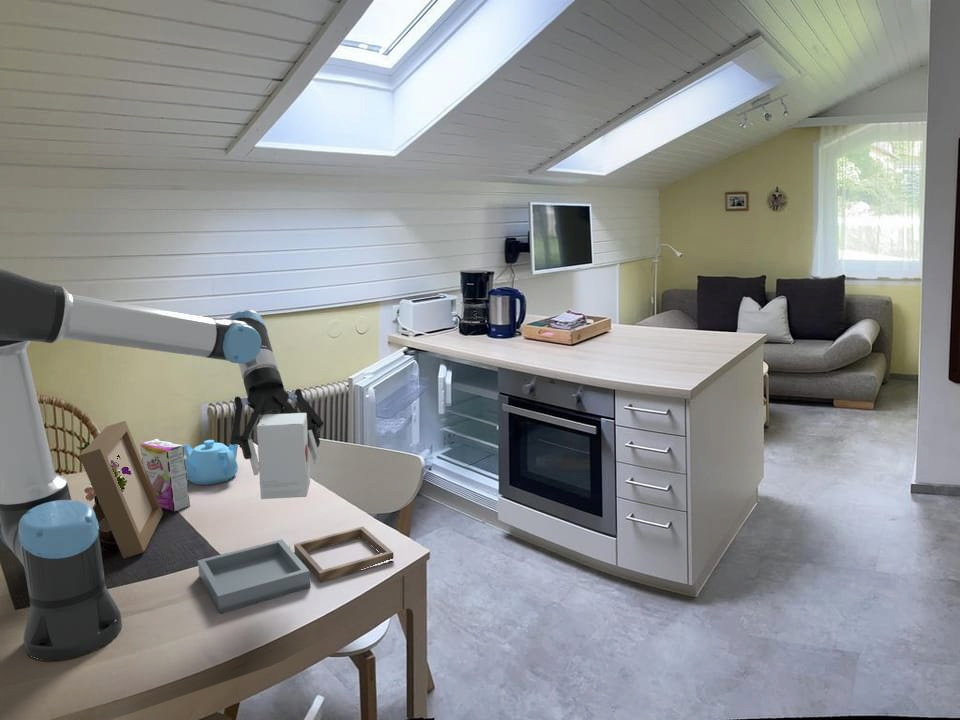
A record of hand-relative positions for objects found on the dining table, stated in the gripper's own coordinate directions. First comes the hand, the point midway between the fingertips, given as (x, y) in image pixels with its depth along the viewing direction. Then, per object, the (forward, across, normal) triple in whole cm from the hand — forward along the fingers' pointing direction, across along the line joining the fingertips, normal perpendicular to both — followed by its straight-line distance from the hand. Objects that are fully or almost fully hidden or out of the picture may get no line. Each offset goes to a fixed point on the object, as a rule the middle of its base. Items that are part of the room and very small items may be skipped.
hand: (287, 466), depth 149 cm
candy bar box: (-22, +15, -56) cm, 62 cm away
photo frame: (-11, +28, -46) cm, 54 cm away
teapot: (-33, +1, -66) cm, 74 cm away
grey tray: (+15, +8, -18) cm, 25 cm away
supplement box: (+3, 0, -6) cm, 6 cm away
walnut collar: (+15, -12, -18) cm, 26 cm away
